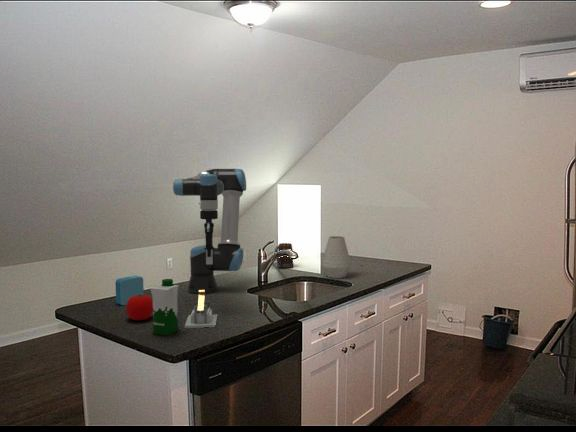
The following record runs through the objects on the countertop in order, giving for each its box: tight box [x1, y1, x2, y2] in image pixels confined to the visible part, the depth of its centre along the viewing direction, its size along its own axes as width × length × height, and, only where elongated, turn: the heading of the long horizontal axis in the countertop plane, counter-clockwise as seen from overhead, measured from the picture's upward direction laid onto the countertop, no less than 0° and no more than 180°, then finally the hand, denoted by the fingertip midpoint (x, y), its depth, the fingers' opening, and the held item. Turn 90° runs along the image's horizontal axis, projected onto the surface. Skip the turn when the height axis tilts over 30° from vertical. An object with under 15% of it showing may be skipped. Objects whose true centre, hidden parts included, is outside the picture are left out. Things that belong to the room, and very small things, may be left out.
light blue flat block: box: [115, 275, 145, 306], centre depth 230 cm, size 12×4×12 cm, turn 139°
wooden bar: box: [197, 290, 206, 313], centre depth 200 cm, size 11×3×2 cm
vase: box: [320, 235, 352, 279], centre depth 285 cm, size 18×17×23 cm
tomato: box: [125, 294, 153, 321], centre depth 205 cm, size 11×12×10 cm
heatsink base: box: [184, 300, 218, 329], centre depth 201 cm, size 14×12×8 cm
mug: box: [274, 242, 294, 270], centre depth 309 cm, size 16×11×15 cm
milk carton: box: [149, 278, 179, 337], centre depth 188 cm, size 9×9×20 cm
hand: (209, 264), depth 213 cm, fingers closed
